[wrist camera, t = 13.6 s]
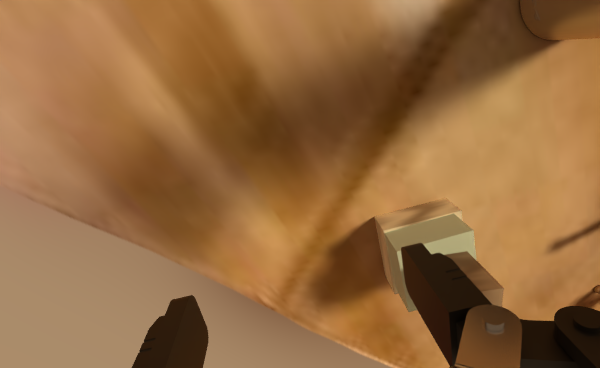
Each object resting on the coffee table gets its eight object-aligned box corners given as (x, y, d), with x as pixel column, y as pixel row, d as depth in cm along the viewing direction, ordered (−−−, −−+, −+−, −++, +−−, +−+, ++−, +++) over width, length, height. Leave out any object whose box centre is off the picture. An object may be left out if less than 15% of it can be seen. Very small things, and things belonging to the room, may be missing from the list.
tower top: (453, 213, 38) (473, 230, 35) (460, 271, 41) (479, 292, 37) (384, 232, 38) (396, 251, 35) (396, 288, 41) (408, 312, 38)
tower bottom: (444, 196, 42) (461, 210, 38) (450, 257, 45) (466, 275, 41) (373, 215, 42) (383, 230, 38) (384, 274, 45) (394, 294, 42)
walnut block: (467, 251, 35) (503, 287, 30) (465, 290, 37) (499, 332, 32) (419, 258, 35) (447, 297, 30) (420, 298, 37) (446, 341, 31)
